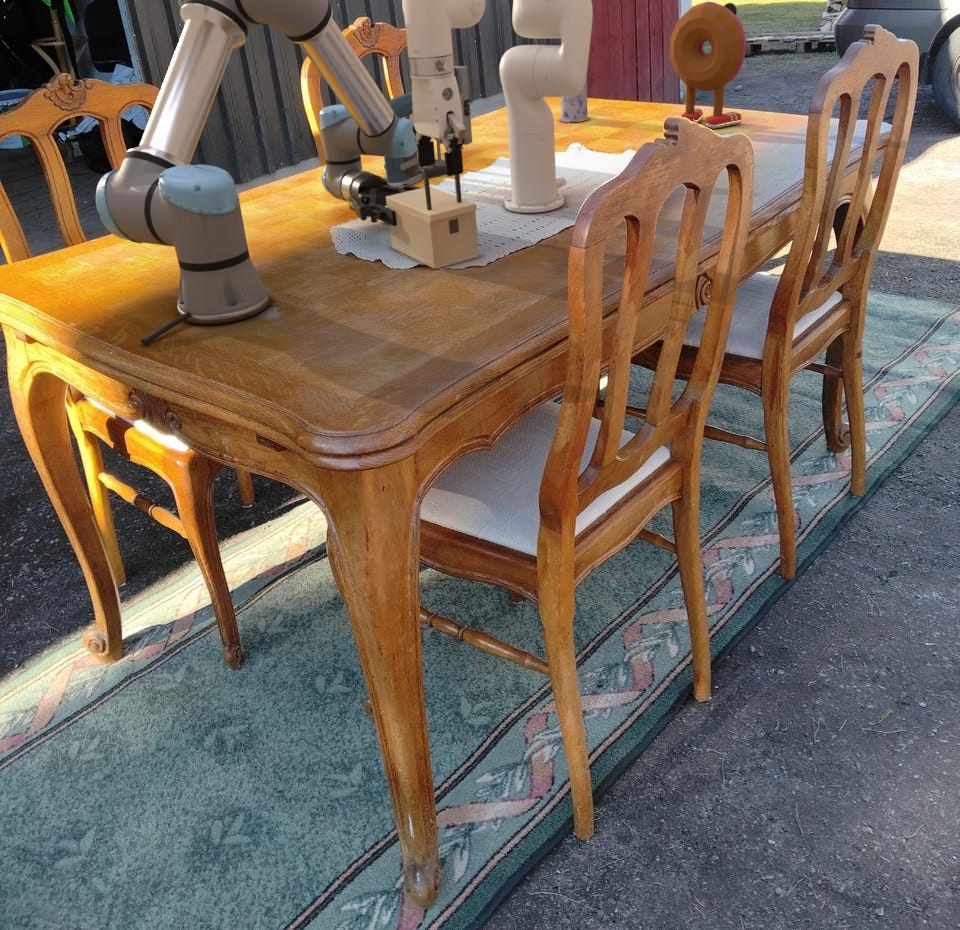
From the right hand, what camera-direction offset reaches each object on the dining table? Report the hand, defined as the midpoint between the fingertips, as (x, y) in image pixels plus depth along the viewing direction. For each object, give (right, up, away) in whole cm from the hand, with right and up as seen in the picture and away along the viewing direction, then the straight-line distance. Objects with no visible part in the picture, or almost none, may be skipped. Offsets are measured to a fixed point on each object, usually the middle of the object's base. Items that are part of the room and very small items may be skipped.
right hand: (440, 169), depth 171 cm
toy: (+68, +39, +89) cm, 118 cm away
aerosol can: (+34, +47, +106) cm, 121 cm away
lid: (-2, -4, +8) cm, 9 cm away
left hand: (-5, -4, +13) cm, 15 cm away
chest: (-2, -12, +13) cm, 18 cm away
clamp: (-7, +20, +68) cm, 71 cm away
